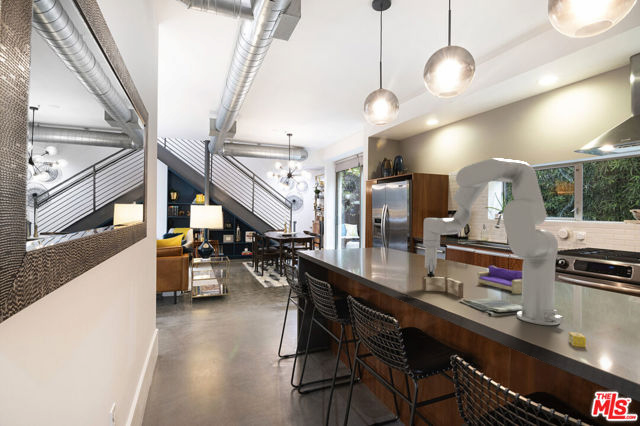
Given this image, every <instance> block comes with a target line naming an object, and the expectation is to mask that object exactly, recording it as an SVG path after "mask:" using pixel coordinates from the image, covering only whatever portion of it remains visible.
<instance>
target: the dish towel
mask: <svg viewBox="0 0 640 426" xmlns="http://www.w3.org/2000/svg"><path fill="white" fill-rule="evenodd" d="M457 303H463V304H464V305H466V306H468V307H471V308H473V309H475V310H479V311H481V312H482V314H484V315H485V313H486V314H487V316H490V317H491V318H493V317H500V316H508V315H517V312H519V311H522V305H520V304H516V303H513V302H512V303H511V302H509V301H506V300H502V299H498V298H495V297H486V298H474V299H463V300H458V302H457Z"/></svg>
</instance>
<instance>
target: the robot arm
mask: <svg viewBox="0 0 640 426" xmlns="http://www.w3.org/2000/svg"><path fill="white" fill-rule="evenodd" d="M455 181H456V184H457V185H458V186H459V187H458V189H457V190H456V192H455V193H454V195H453V201H454V202H455V203H456V204H457V205H458V207H457V210H456V212H455V213H454V215H453V216H452V217H441V218H440V217H438V218H437V217H426V218H424V219H423V235H422V236H423V242H422V243H423V244H422V246H423V247H424V248H425V251H424V268H425V269H427V274H426V275H427V276H426V277H436V276H435V275H436V274H435V270H436V269H437V261H438V260H437V258H438V248H439V249H440V247H441V235H442V236H444V235H445V236H447V235H458V234H459V233H461V232H462V231H463V229H465V227H466V226H467V224H468V223H469V221H471V220H470V219H471V217H472V212H473V205H474V204H475V202H476V201H477V200H478V198H479V197H480V195H481V194H482V192H484V190H485V188H486V187H487V186H488V184H489V183H490V182H499V183H511V184H512V186H511V194H512V197H513V200H510V201H509V202H508V203H507V204H506V205H505V206H504V208H503V212H502V219H503V220H502V221H503V225H504V228H505V233H506V238H507V242H508V246H509V248H510V250H511V252H512V253H513V254H514V255H515V256H516V257H518V258H520V259H523V262H522V268H521V269H522V270H521V271H522V294H521V306H522V311H519V312H517V314H516V317H517V319H519V320H521V321H524V322H527V323H531V324H536V325H540V326H541V325H542V326H557V325H559V324H561V323H562V321H564V319H565V318H564V317H563V316H562V315H558V310H557V309H555V292H556V291H555V289H556V287H555V286H556V285H555V283H556V279H555V278H556V263H557V262H556V261H557V256H558V251H559V242H558V240H557V237H556V236H555V234H553V233H552V232H550V231H549V230H545V229H541V228H540V229H538V228H536V226H539V225H541V224H543V223H544V222H545V221H546V218H547V211H546V207H545V202H544V199H543V195H542V192H541V188H540V185H539V182H538V181H539V180H538V175H537V172H536V171H535V169H534V167H533V166H532V165H530V164H529V163H527V162H525V161H521V160H513V159H507V158H506V159H504V158H497V157H495V158H494V157H493V158H492V157H491V158H488V159H487V158H486V159H484V160H481V161H478V162H476V163H472V164H468V165H466V166H463V167H462V168H461V169H460V170H459V171H458V172H457V174H456V177H455Z"/></svg>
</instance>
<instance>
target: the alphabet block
mask: <svg viewBox="0 0 640 426" xmlns="http://www.w3.org/2000/svg"><path fill="white" fill-rule="evenodd" d="M567 336H568V337H567V339H568V343H569V344H570V345H572V346H573V347H578V348H586V343H587V342H586V340H587V337H586V336H584V335H583V334H582V333H580V332H573V331H571V332H570V331H569V332H568V335H567Z"/></svg>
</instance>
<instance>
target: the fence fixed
mask: <svg viewBox="0 0 640 426" xmlns="http://www.w3.org/2000/svg"><path fill="white" fill-rule="evenodd" d="M444 292H445V293H449V294H452V295H453V296H456V297H458V298H461V299H462V298H464V282H461V281H459V280H456V279H453V278H450V276H445V289H444Z"/></svg>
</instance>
